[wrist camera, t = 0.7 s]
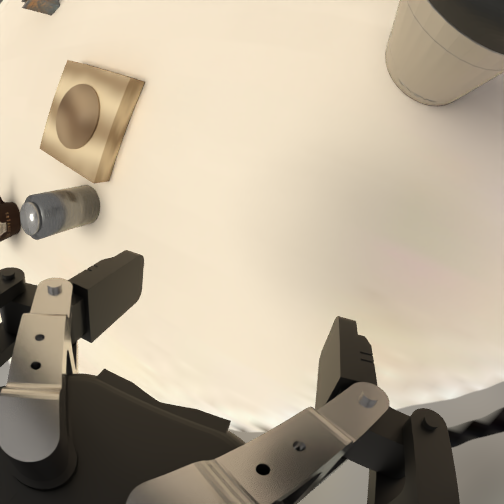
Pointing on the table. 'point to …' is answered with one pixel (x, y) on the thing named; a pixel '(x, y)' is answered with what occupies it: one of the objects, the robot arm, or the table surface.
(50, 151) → the stand
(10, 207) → the coffee mug
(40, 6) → the grey rusty box
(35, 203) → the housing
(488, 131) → the table surface
